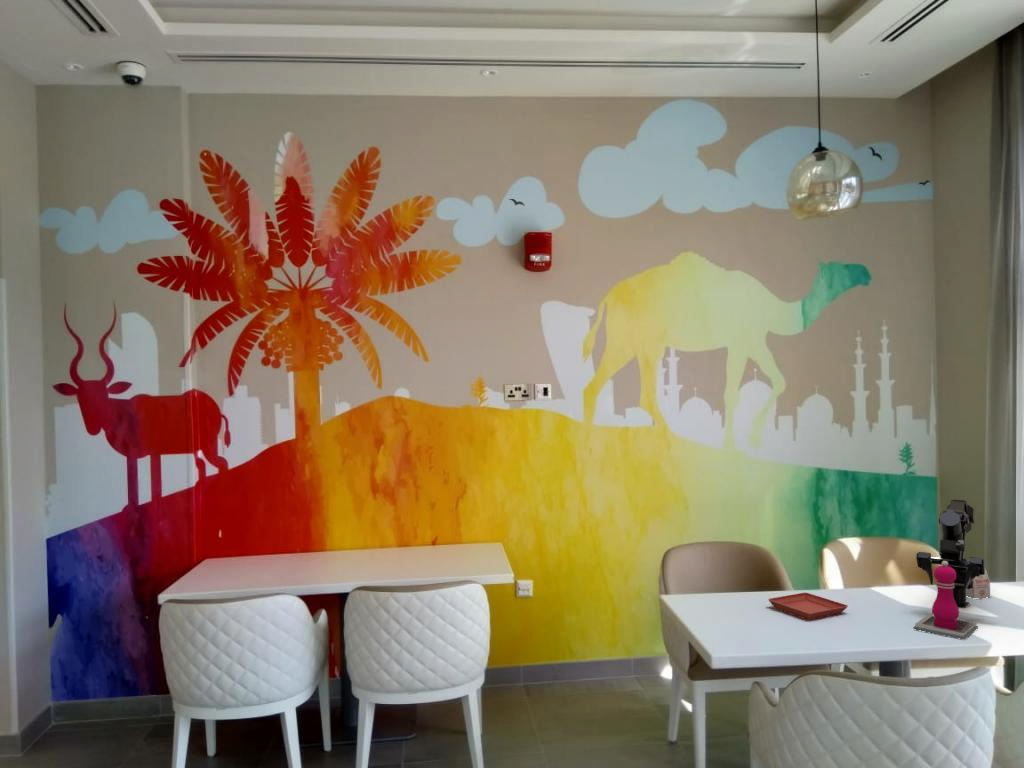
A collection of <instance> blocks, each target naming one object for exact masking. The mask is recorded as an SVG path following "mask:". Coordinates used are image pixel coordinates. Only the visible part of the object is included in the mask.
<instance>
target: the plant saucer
mask: <svg viewBox="0 0 1024 768" xmlns="http://www.w3.org/2000/svg"><path fill="white" fill-rule="evenodd" d="M767 600H768V601H769V602H770V604H771V605H772V606H773V607H774V608H775V609H776V610H778V609H779V611H781V610H782V612H784V611H785V612H784V613H787V612H788V614H790V613H791V615H793V614H794V615H793V616H796V615H797V616H796V617H799V616H800V617H799V618H802V617H803V618H802V619H805V618H806V619H805V620H808V619H811V620H815V619H814V618H816V619H820V618H819V617H821V618H825V617H824V616H826V617H830V616H829V615H831V616H835V615H834V614H836V615H839V613H840V614H842V613H843V612H844V611H845V610H846V609H847V608H848V607H849V606H848V604H844V603H842V602H838V601H835V600H831V599H829V598H825V597H822V596H820V595H819V596H818V595H815V594H812V593H810V592H799V593H795V594H788V595H782V596H777V597H772V598H770V597H769V598H768V599H767Z"/></svg>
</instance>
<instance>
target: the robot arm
mask: <svg viewBox="0 0 1024 768" xmlns="http://www.w3.org/2000/svg"><path fill="white" fill-rule="evenodd" d="M939 524H940V529H941V532H942V536H941V537H942V539H939V549H938V550H939V553H938V554H939V555H938V556H939V557H934V556H932V554H931V552H925V551H918V552H917V553H916V556H915V557H916V558H915V559H916V563H917V567H918V568H920V569H922V571H925V572H926V574H927V576H928V579H929V583H930V585H931V586H932V585H933V584H934V572H933V571H934V570H933V565H939V566H943V565H942V562H943V561H947V562H948V566H949V567H951V568H953V569H954V570H955V572H956V579H955V580H954V583H955V584H954V586H955V587H954V588H953V597H954V600H955V602H956V605H957V607H958V608H964V609H965V608H966V607H968V606H967V605H968V604H969V605H970V602H969V601H967V597H966V589H970V588H973V579H974V578H975V577H976V576H977V577H979V576H980V575H984V574H985V569H986V565H985V560H984V558H982V557H974V556H969V557H968V558H969V559H968V561H967V559H966V558H965V554H966V553H965V552H966V541H967V540H966V539H967V533H969V532H971V530H973V524H975V509H974V508H973V507H972V506H971V505H969V504H968V501H967V500H965V499H964V500H963V499H951V500H950V504H949V505H947V507H946V509H943V510H942V513H940V514H939V517H938V525H939Z"/></svg>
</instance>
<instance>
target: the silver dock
mask: <svg viewBox="0 0 1024 768" xmlns="http://www.w3.org/2000/svg"><path fill="white" fill-rule="evenodd" d="M935 618H936V617H935V616H934V615H933V614H927V615H925V616H924V617H923V618H922V619H920V620H918V621H917V622H916V623H915V625H914V626H913V628H912V629H917V630H921V631H920V632H922V631H926V632H925V633H927V632H930V633H929V634H932V633H934V634H933V635H937V634H938V636H942V635H945V636H944V637H947V636H950V637H949V638H952V637H954V639H957V638H960V639H959V640H962V639H966V638H967V637H968V636H969V637H970V636H971V635H972V633H973V632H974V631H975V630H976V629H977V628H978V629H979V626H978V625H977V623H976V622H973V621H968V620H961V619H958V618H957V619H956V620H955V621H957V628H956V629H946V628H941V627H936V626H935V625H934V619H935ZM978 629H977V630H978ZM917 630H916V631H917ZM977 630H976V631H977ZM976 631H975V632H976ZM975 632H974V633H975ZM974 633H973V634H974ZM969 637H968V638H969ZM968 638H967V639H968ZM967 639H966V640H967Z"/></svg>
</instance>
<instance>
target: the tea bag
mask: <svg viewBox="0 0 1024 768" xmlns="http://www.w3.org/2000/svg"><path fill="white" fill-rule="evenodd" d="M966 596H968V597H971V598H986V597H988V598H989V597H990V598H991V580H990V578H989V574H988V572H987V568H985V574H984V575H980V576H979V577H977V576H976V577H975V578H974V579H973V588H970V589H966Z"/></svg>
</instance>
